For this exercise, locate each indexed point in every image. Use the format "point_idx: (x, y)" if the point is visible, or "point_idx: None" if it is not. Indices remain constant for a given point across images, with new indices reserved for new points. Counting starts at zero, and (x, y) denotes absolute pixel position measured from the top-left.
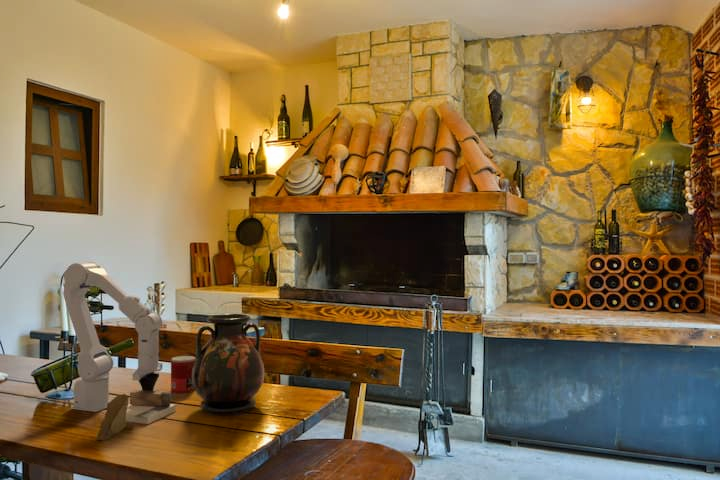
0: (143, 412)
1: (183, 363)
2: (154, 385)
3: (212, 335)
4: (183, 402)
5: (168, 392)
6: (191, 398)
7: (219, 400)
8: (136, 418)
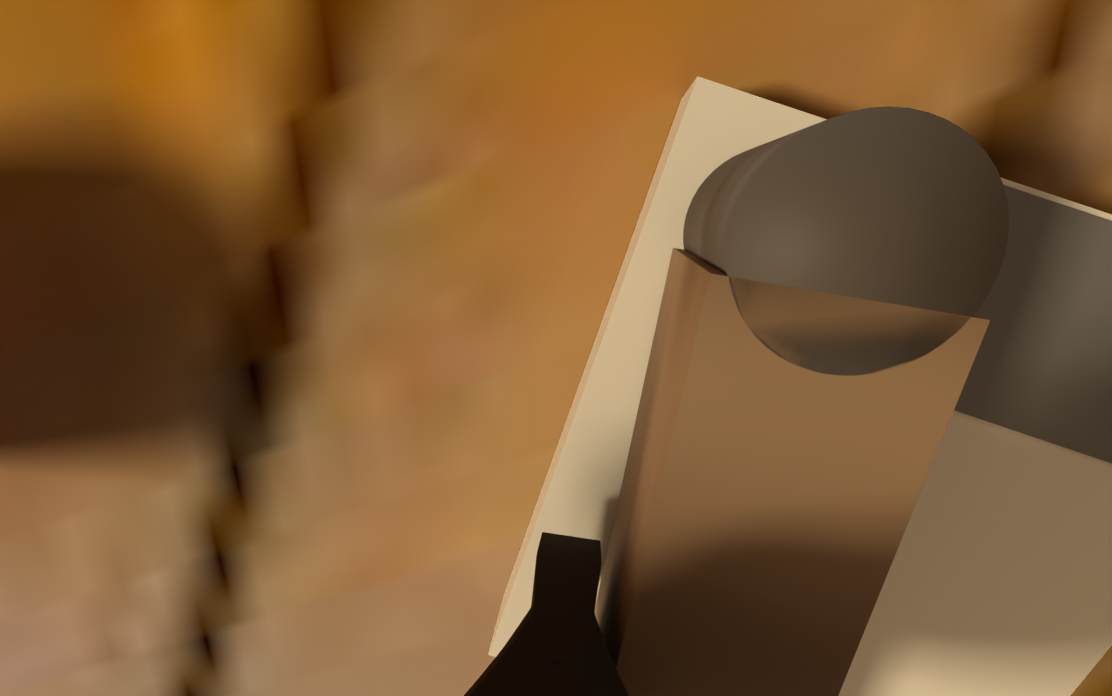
0: (1107, 449)
1: None
2: (499, 673)
3: None
4: (265, 138)
5: (816, 188)
6: (74, 87)
7: None
8: None
